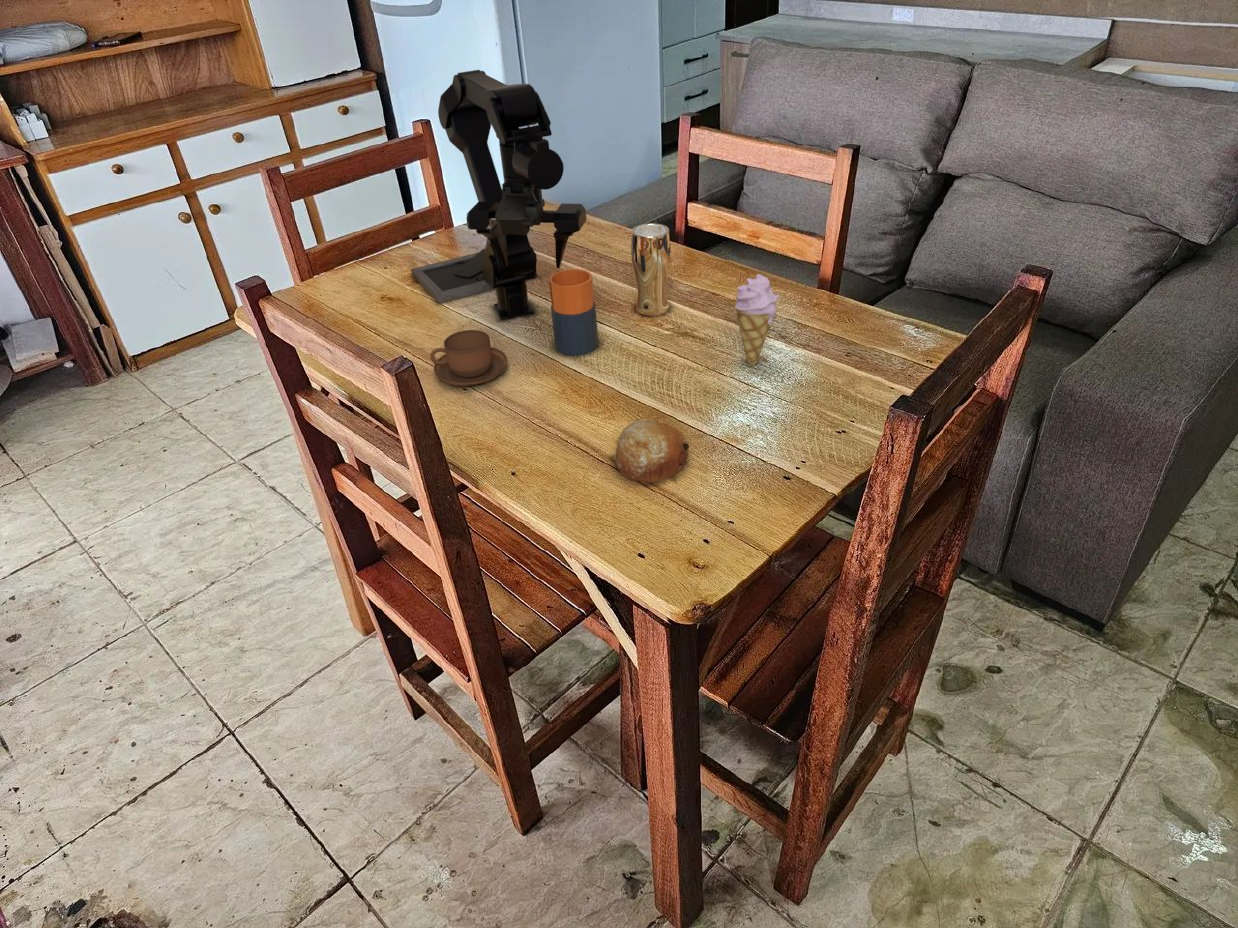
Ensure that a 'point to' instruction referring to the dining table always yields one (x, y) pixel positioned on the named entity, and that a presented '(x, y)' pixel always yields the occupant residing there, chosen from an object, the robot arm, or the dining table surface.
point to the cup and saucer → (468, 359)
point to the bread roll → (650, 451)
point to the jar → (575, 332)
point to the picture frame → (453, 277)
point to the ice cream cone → (755, 314)
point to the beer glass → (651, 267)
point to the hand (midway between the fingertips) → (532, 266)
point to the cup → (571, 291)
